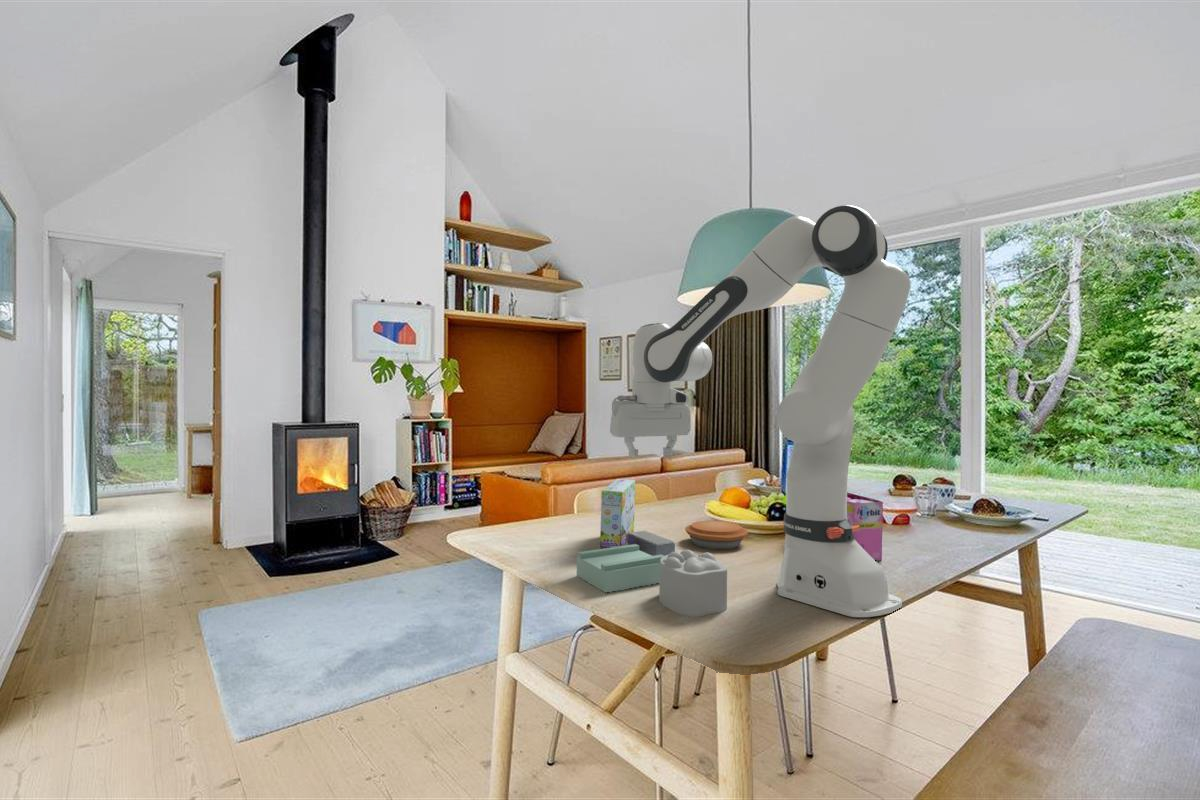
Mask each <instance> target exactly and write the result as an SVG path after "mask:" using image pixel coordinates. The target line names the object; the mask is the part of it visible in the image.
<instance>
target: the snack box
mask: <svg viewBox="0 0 1200 800" xmlns="http://www.w3.org/2000/svg"><path fill="white" fill-rule="evenodd" d="M635 494H636V479H629V478H616V479H614V481H613V482H611V483H610V484H609V485H607V486H606V487H605V488H604V489H602V490H601V502H600V504H601V505H600V506H601V507H600V531H599V532H600V533H599V534H600V537H599V539H600V541H599V549H604V548H611V547H618V546H625V545H627V534H628V533H631V532H635V505H636V504H635V501H636V498H635V497H636V495H635Z"/></svg>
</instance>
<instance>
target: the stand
mask: <svg viewBox="0 0 1200 800" xmlns="http://www.w3.org/2000/svg"><path fill="white" fill-rule="evenodd" d="M662 557H663V555H656V556H652V555H649V554H647V553H645V552H642V551H640V550H639V545H637V544H632V545H625V546H618V547H611V548H604V549H600V548H599V549H592V550H585V551H584V550H583V551H578V552H577V556H576V577H577V578H579V577H580V578H579V579H581V578H582V579H581V580H583V581H584V580H585V582H586V581H587V583H588V584H590V585H591V584H592V585H591V586H593V585H594V586H593V587H595V588H596V587H597V589H598V588H599V589H598V590H599V591H601V590H602V591H601V592H603V591H604V593H605V592H606V593H605V594H608V593H607V592H610V593H613V592H612V591H616V592H618V591H617V590H621V591H624V590H623V589H627V590H629V589H628V588H632V589H634V588H633V587H637V588H640V587H639V586H643V587H646V586H645V585H648V586H652V585H651V584H653V585H657V584H656V583H659V584H660V559H661V558H662Z"/></svg>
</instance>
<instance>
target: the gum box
mask: <svg viewBox="0 0 1200 800" xmlns="http://www.w3.org/2000/svg"><path fill="white" fill-rule="evenodd" d="M883 506H884V502H883V501H882V500H878V499H875V498H870V497H866V496H864V495H863V496H862V495H858V494H855V493H852V492H848V491H847V517H848V518H849V521H850V523H851V526H856V525H859V526H860V527H858V528H856V529H855V530H860V531H857V532H854V535H855V541H856V542H857V543H858V544H859V545H860V546H861V547H862V548H863V549H864V550H865V551H866V552H867V553H868V554H869V555H870V556H871V557H872V558H873V559H874V560H880V561H882V560H883V559H882V558H883V516H884V515H883V514H884V513H883V511H884V509H883V508H884V507H883Z"/></svg>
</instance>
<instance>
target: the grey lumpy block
mask: <svg viewBox="0 0 1200 800" xmlns="http://www.w3.org/2000/svg"><path fill="white" fill-rule="evenodd" d="M658 585H659V591H658V592H659V593H658V594H659V596H658V597H659V598H658V600H659V603H660V604H661V603H662V604H663V605H662V604H661V605H662V606H664V607H666V608H667V609H669V610H670V611H673V612H674V613H676V614H679V615H681V616H685V617H702V616H705V615H709V614H717V613H722V612H725V611H727V610H728V567H727V566H726V565H725V564H723V563H721V562H719V561H717V560H716V558H715V556H714V555H713V553H711V552H703V553H702V554H698V555H696V554H695V553H694V552H693V551H692V550H691V549H684V550H682V551H681V552H678V551H675V552H671V553H670V554H668V555H666V556H663V557H662V558H661V559H660V583H659V584H658Z"/></svg>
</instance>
